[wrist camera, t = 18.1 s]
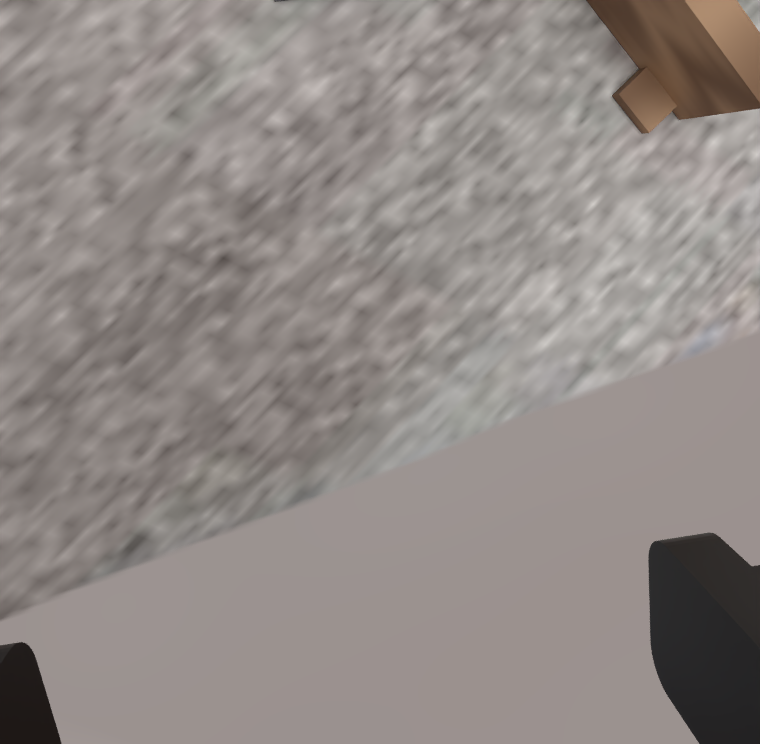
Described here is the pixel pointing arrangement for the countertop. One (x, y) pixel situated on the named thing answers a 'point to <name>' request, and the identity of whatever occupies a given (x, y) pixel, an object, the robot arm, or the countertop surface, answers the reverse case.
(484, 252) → the countertop surface
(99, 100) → the countertop surface
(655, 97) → the walnut screen
